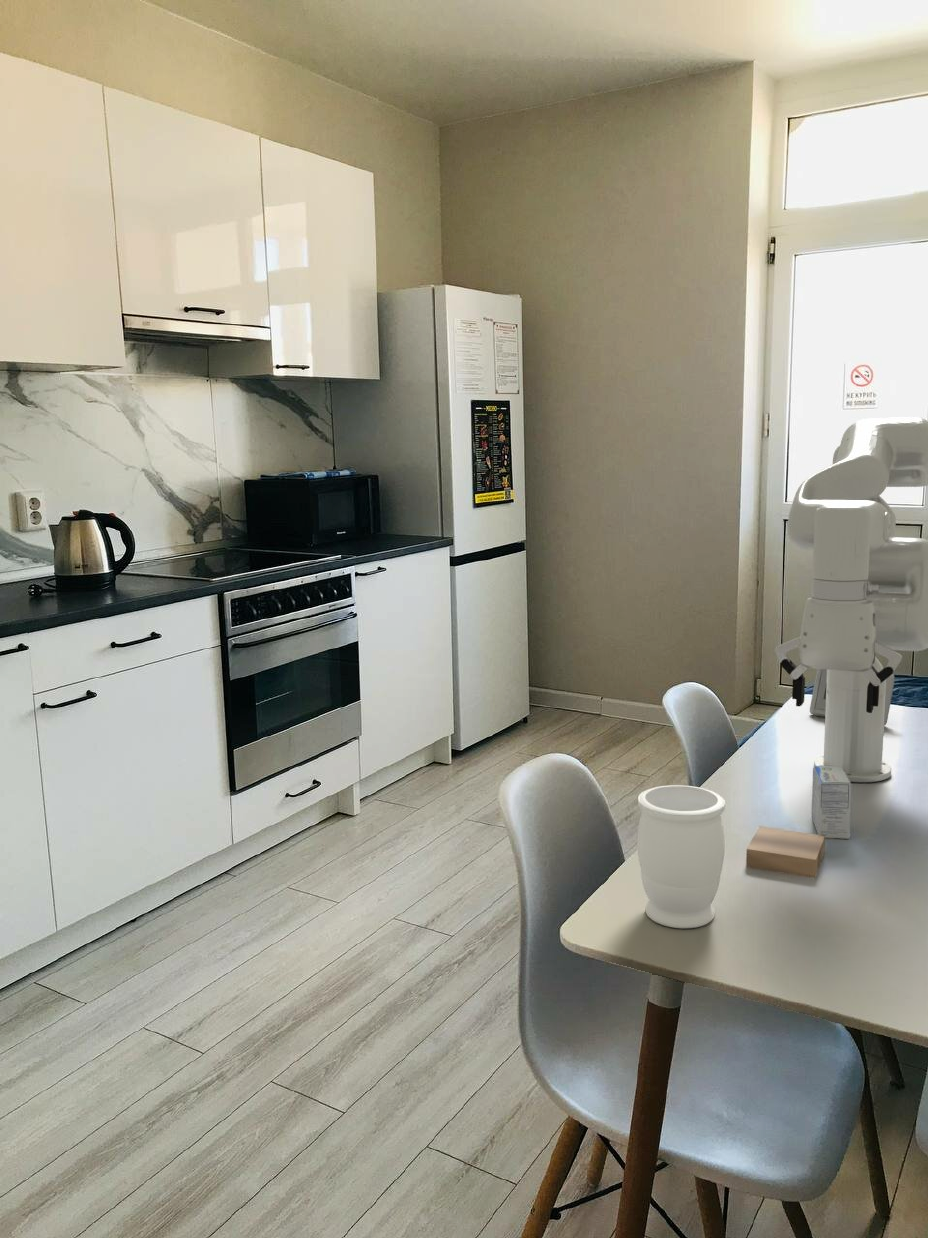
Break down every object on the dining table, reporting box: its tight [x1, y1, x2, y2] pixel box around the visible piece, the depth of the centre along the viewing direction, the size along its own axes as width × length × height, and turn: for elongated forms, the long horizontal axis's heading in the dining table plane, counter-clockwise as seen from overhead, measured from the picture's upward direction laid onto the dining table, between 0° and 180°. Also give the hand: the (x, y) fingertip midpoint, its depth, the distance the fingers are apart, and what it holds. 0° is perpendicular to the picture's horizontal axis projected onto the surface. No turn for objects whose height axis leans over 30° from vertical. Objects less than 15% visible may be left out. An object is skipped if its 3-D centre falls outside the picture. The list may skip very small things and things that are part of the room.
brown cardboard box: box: [745, 825, 826, 879], centre depth 139 cm, size 9×9×3 cm
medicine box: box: [811, 765, 852, 840], centre depth 149 cm, size 8×4×9 cm, turn 168°
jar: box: [637, 784, 726, 929], centre depth 123 cm, size 11×10×15 cm
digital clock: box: [809, 669, 896, 727], centre depth 207 cm, size 16×9×11 cm, turn 35°
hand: (834, 707), depth 147 cm, fingers open, 9 cm apart
